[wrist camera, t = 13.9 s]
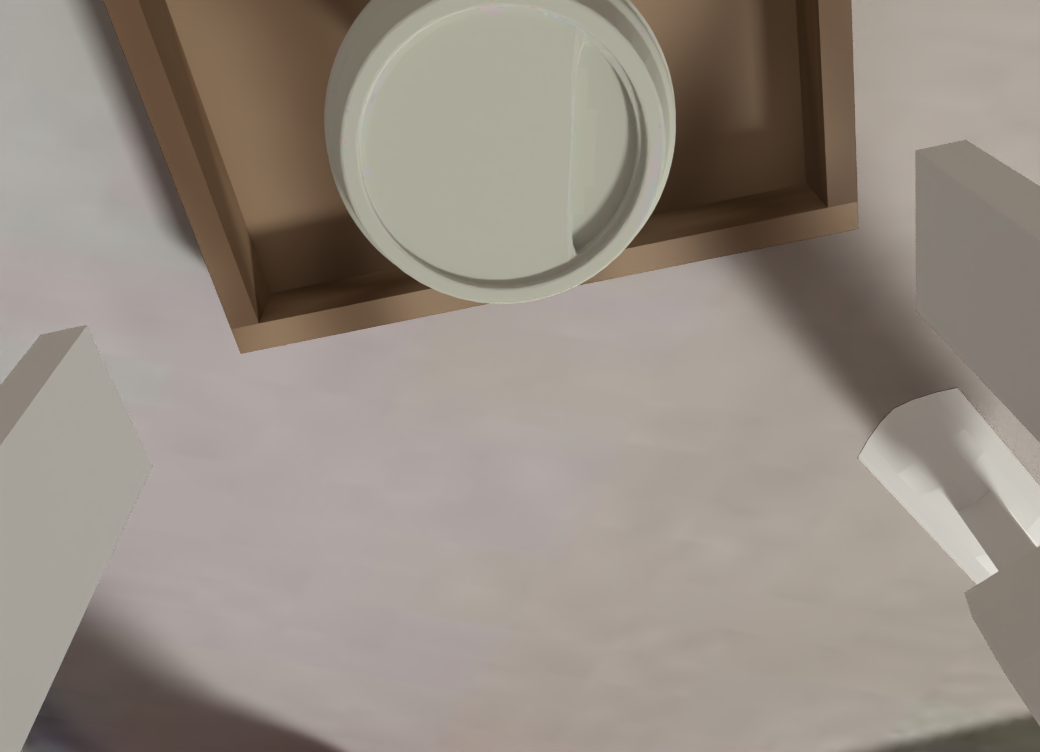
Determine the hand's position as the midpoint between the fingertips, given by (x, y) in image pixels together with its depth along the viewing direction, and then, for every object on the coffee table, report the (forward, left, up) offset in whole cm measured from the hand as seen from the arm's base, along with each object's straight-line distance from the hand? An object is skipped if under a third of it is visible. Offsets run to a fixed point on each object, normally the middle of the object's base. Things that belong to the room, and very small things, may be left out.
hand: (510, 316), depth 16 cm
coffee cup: (0, 0, -20) cm, 20 cm away
